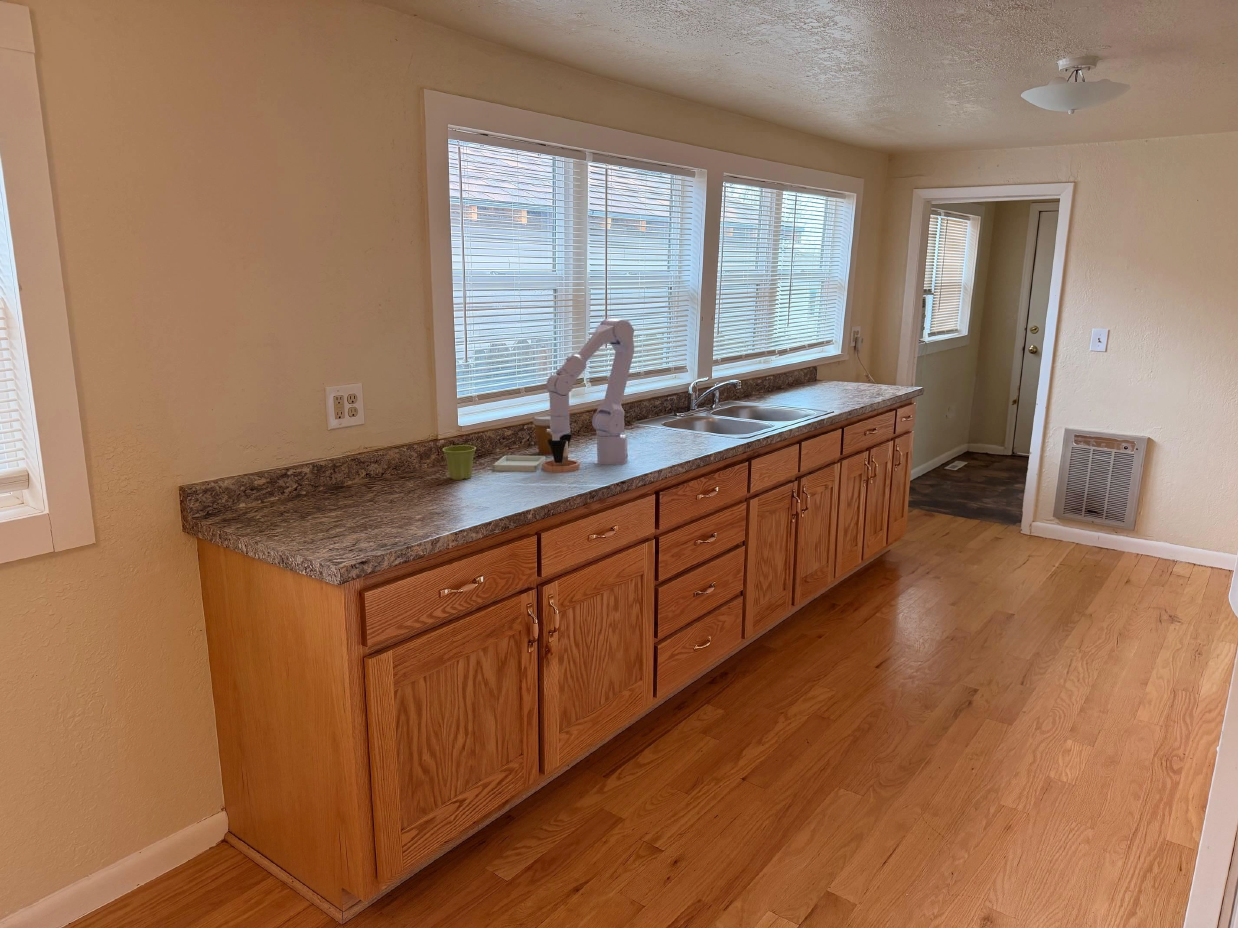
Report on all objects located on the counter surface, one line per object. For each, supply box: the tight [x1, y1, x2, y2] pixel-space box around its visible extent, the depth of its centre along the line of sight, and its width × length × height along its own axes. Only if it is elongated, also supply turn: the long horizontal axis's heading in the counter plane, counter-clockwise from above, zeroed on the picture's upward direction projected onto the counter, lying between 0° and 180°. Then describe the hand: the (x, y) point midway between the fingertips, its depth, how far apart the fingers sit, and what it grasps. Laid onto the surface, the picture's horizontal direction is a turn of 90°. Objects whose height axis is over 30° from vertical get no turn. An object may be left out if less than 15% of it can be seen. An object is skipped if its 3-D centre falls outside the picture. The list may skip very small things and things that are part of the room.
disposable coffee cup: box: [532, 414, 553, 456], centre depth 280 cm, size 10×10×12 cm
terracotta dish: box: [541, 458, 581, 473], centre depth 256 cm, size 11×11×2 cm
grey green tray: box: [492, 455, 547, 472], centre depth 259 cm, size 13×14×2 cm
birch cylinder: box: [552, 441, 569, 466], centre depth 255 cm, size 4×4×8 cm
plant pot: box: [442, 444, 477, 481], centre depth 246 cm, size 9×9×9 cm
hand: (560, 460), depth 255 cm, fingers open, 7 cm apart
